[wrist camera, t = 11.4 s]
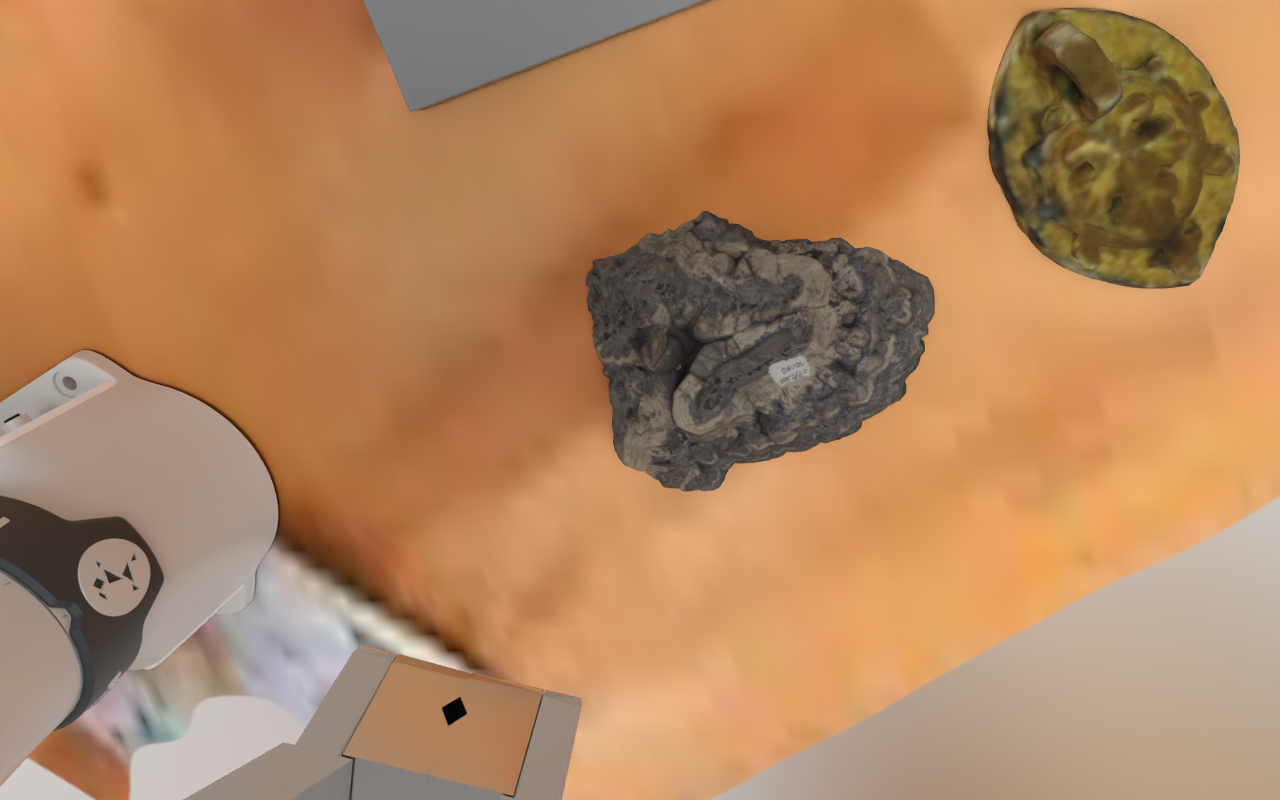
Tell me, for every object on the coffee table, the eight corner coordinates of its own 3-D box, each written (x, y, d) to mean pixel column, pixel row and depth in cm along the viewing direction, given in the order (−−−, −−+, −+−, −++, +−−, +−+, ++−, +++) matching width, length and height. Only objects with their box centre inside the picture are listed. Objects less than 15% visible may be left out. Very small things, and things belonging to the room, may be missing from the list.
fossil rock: (519, 304, 41) (662, 512, 46) (501, 326, 38) (658, 550, 42) (843, 107, 36) (969, 365, 40) (857, 111, 32) (993, 394, 37)
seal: (1267, 204, 36) (1098, -56, 33) (1353, 215, 32) (1169, -84, 28) (1097, 333, 39) (921, 103, 35) (1155, 360, 34) (961, 101, 31)
